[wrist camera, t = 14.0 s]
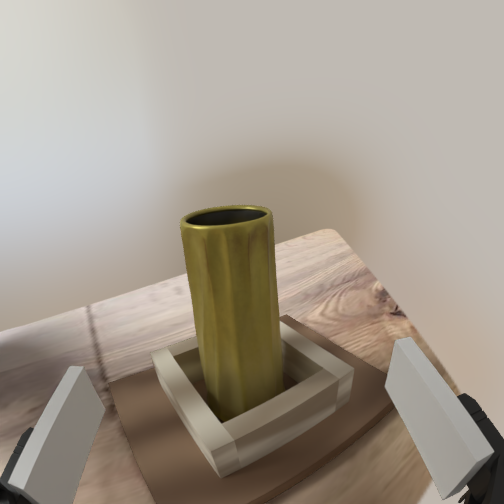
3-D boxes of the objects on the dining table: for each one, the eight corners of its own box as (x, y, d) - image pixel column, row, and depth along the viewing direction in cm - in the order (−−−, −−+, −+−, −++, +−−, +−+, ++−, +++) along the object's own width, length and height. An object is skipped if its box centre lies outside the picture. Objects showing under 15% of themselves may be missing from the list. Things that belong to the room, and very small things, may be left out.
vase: (226, 367, 26) (203, 204, 21) (294, 378, 24) (291, 203, 19) (194, 415, 20) (149, 228, 16) (273, 434, 18) (261, 230, 13)
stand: (113, 394, 24) (94, 353, 22) (286, 325, 34) (285, 286, 32) (180, 540, 11) (153, 516, 10) (403, 398, 21) (416, 352, 19)
